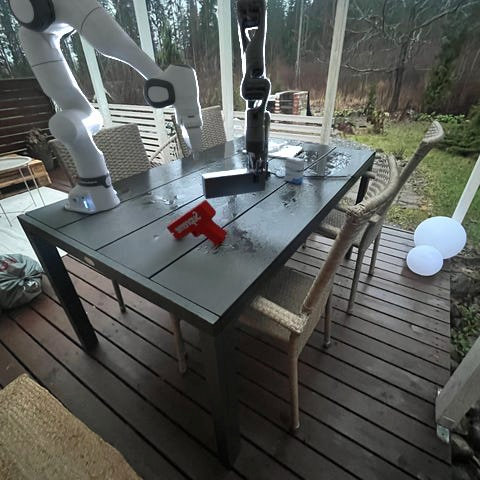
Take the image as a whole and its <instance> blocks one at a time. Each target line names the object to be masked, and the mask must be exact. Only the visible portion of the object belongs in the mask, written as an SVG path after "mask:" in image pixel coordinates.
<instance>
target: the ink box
mask: <svg viewBox="0 0 480 480" xmlns="http://www.w3.org/2000/svg"><path fill="white" fill-rule="evenodd" d="M305 162H306V159H304V158H299V157H296V156H294V157H289V158H287V159H286V158H285V169H284V176H285V178H284V181H285V182H289V183H293V184H295V185H298V184H300V183H302V182H303V180H304V177H303V175H304V173H305V171H304V170H305Z"/></svg>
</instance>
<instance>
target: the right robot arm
mask: <svg viewBox="0 0 480 480" xmlns="http://www.w3.org/2000/svg"><path fill="white" fill-rule="evenodd" d="M235 15H236V22H237V28H238V36H239V42H240V49H241V59H242V60H241V61H242V74H243V78H242V80H241V84H240V90H239V91H240V96H241V98H242V100H244V101H246V110H245V126H244V127H245V128H244V151H246V153H245V163H246V164H245V165H246V168H247V169H248V168H252V169H253V171H254V183H255V184H256V183H259V174H262V171H263V169H264V170H266V180H268V179H269V178H271V175H274V177H276V178H277V179H285V175H282V176H279V175H277V173H276V172H272V170H271V169H270V168H269V156H268V145H269V139H270V129H271V120H272V119H271V118H272V117H271V112H270V111H267V110H266V109H267V108H266V107H267V105H268V101H269V98H270V95H271V90H272V85H271V84H272V83H271V82H270V79H269V78H267V77H266V66H265V64H266V61H265V45H266V35H267V34H266V33H267V18H268V16H267V15H268V14H267V1H266V0H236V3H235ZM252 29H255V31H254V34H253V36H252V37H251V38H250V36H249V33H248V30H252ZM258 101H259V103H258V104H257V105H256V103H257V102H258ZM255 169H256V170H255ZM305 175H306V174H303V178H323V179H324V178H325V179H327V178H328V179H334V178H335V179H339V178H347V177H349V176H345V175H311V176H305ZM350 177H351V178H354V175H352V176H350Z"/></svg>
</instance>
